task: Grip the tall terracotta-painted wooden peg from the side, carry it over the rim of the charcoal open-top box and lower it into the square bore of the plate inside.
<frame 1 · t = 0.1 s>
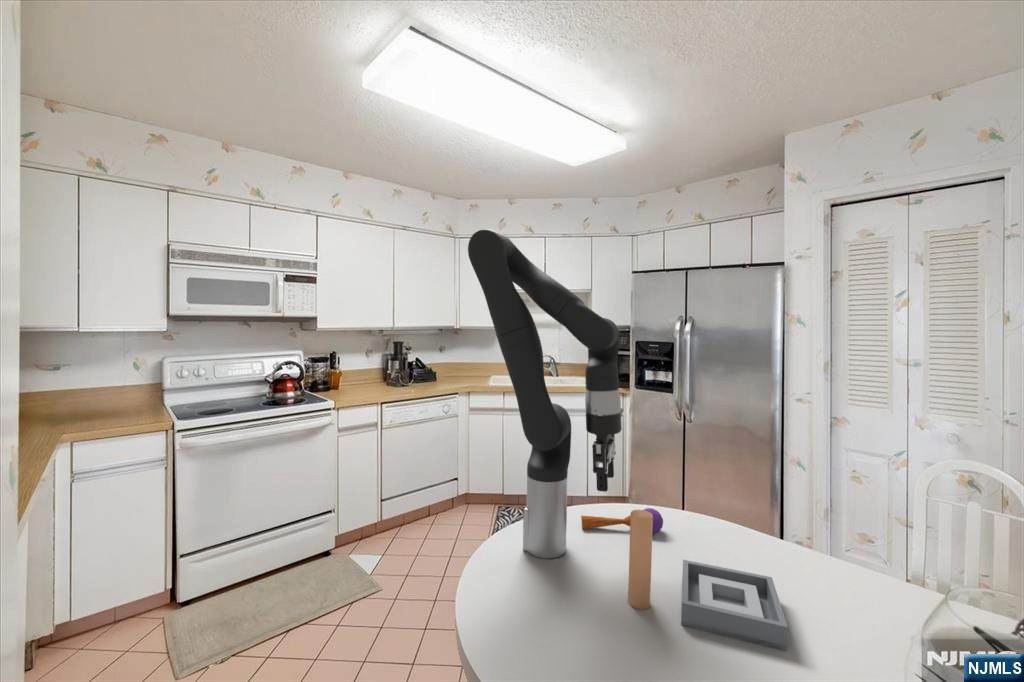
hand: (605, 483, 98), 17 cm above the table, tool pointing down, fingers open, 8 cm apart
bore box: (728, 610, 83), on the table
kendama: (621, 531, 113), on the table
peg: (638, 602, 85), on the table
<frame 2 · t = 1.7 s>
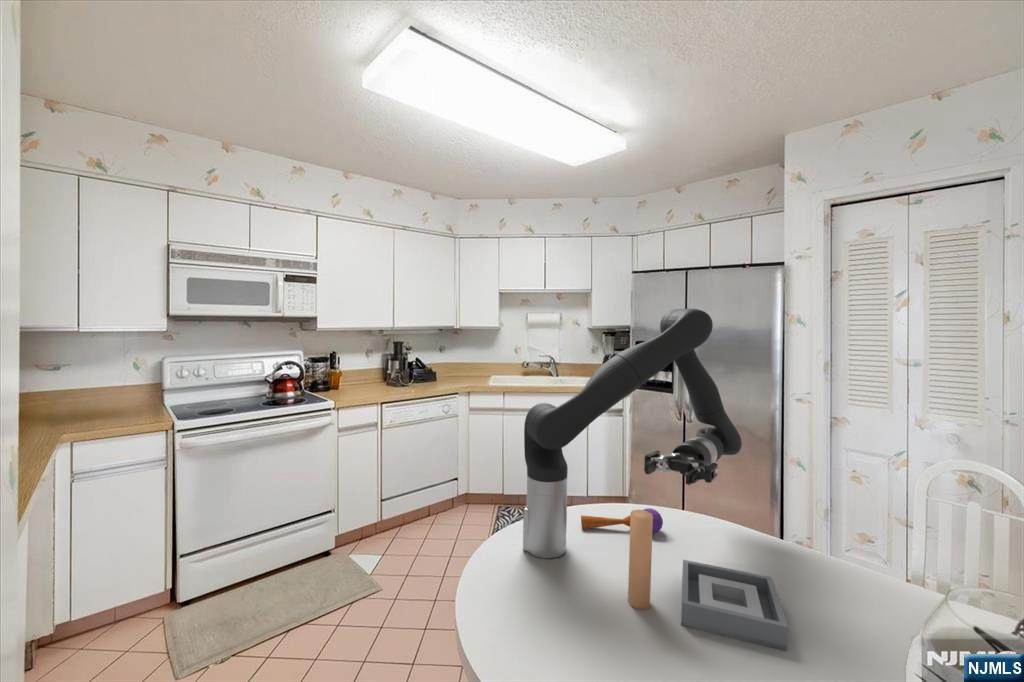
hand: (666, 474, 92), 22 cm above the table, tool horizontal, fingers open, 8 cm apart
nothing on the table moved.
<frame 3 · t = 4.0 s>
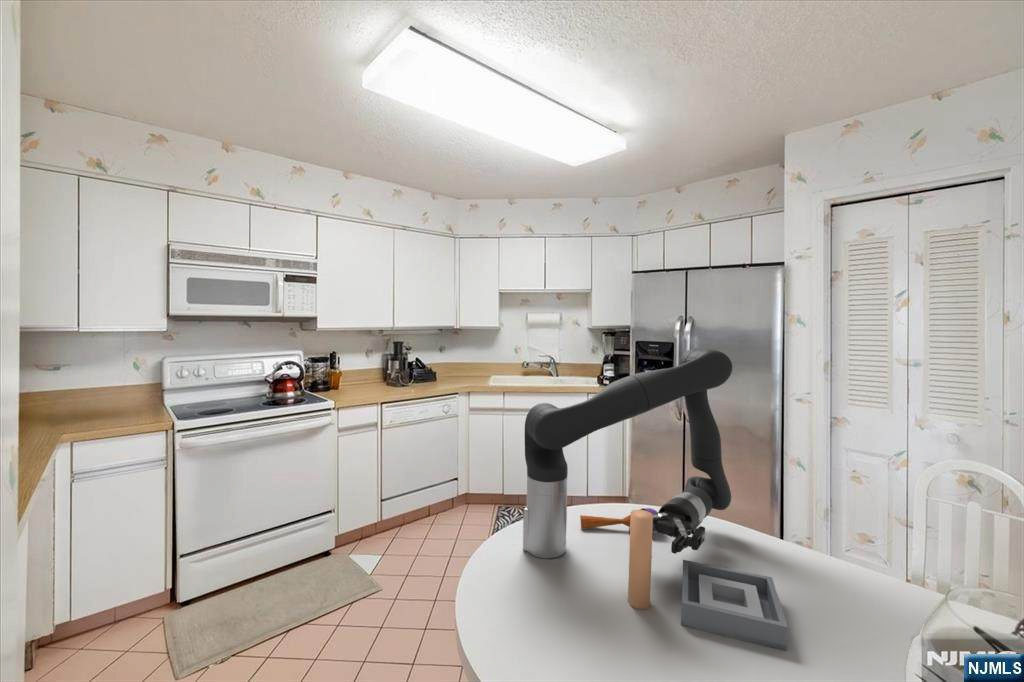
hand: (651, 540, 88), 10 cm above the table, tool horizontal, fingers open, 8 cm apart
nothing on the table moved.
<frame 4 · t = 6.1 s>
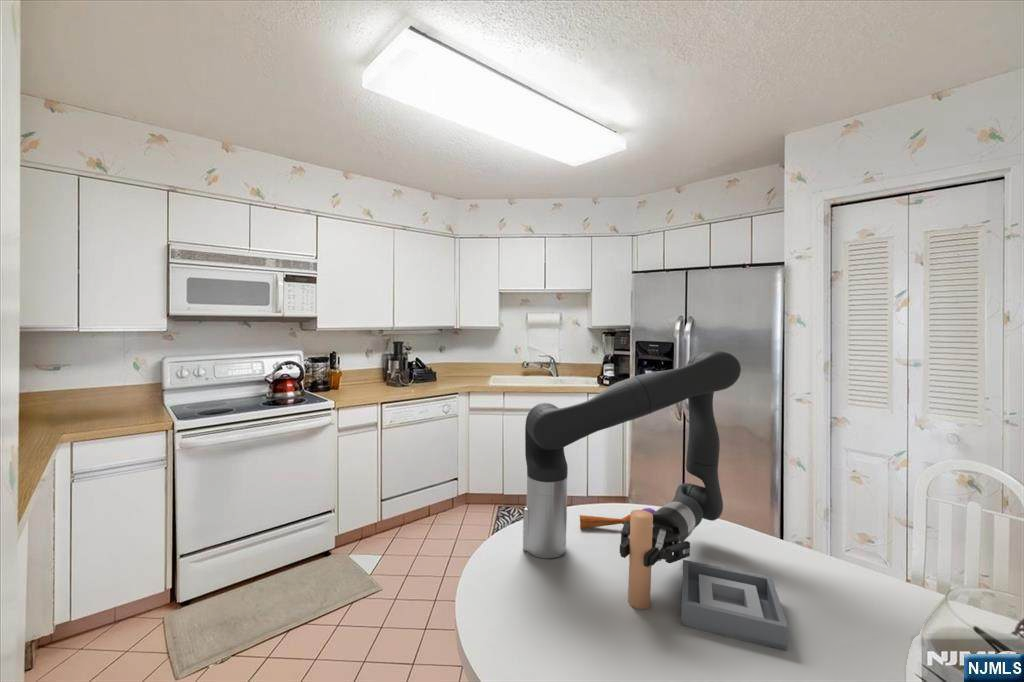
hand: (634, 556, 82), 10 cm above the table, tool horizontal, fingers closed on peg, 4 cm apart
peg: (639, 602, 85), on the table, touching gripper
everything else where it was.
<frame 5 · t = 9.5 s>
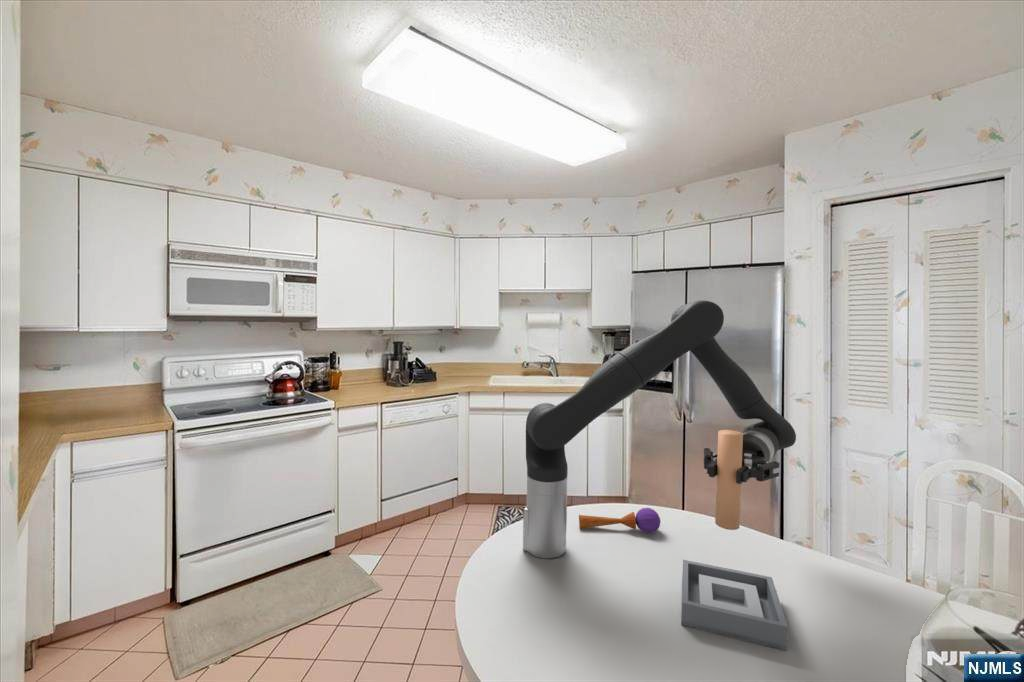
hand: (724, 474, 79), 26 cm above the table, tool horizontal, fingers closed on peg, 4 cm apart
peg: (727, 524, 82), point 16 cm above the table, touching gripper
everything else where it was.
when the fingers open (12 cm above the table, at t = 13.3 s): peg drops 2 cm, resting on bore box.
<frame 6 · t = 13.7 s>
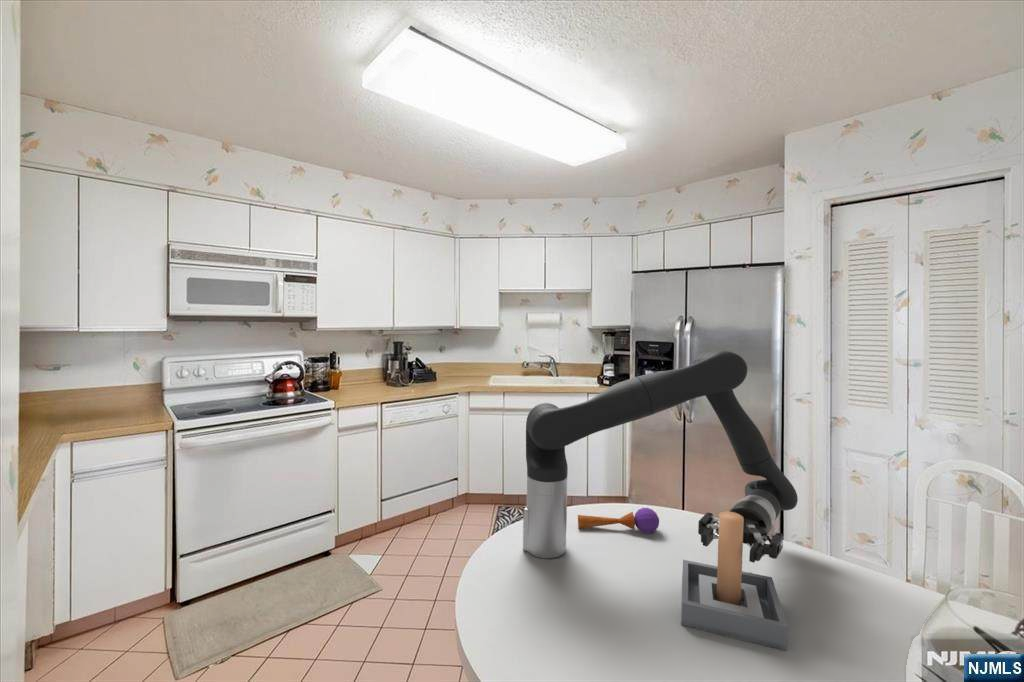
hand: (727, 548, 80), 13 cm above the table, tool horizontal, fingers open, 7 cm apart
peg: (728, 605, 83), point 1 cm above the table, touching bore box
everything else where it was.
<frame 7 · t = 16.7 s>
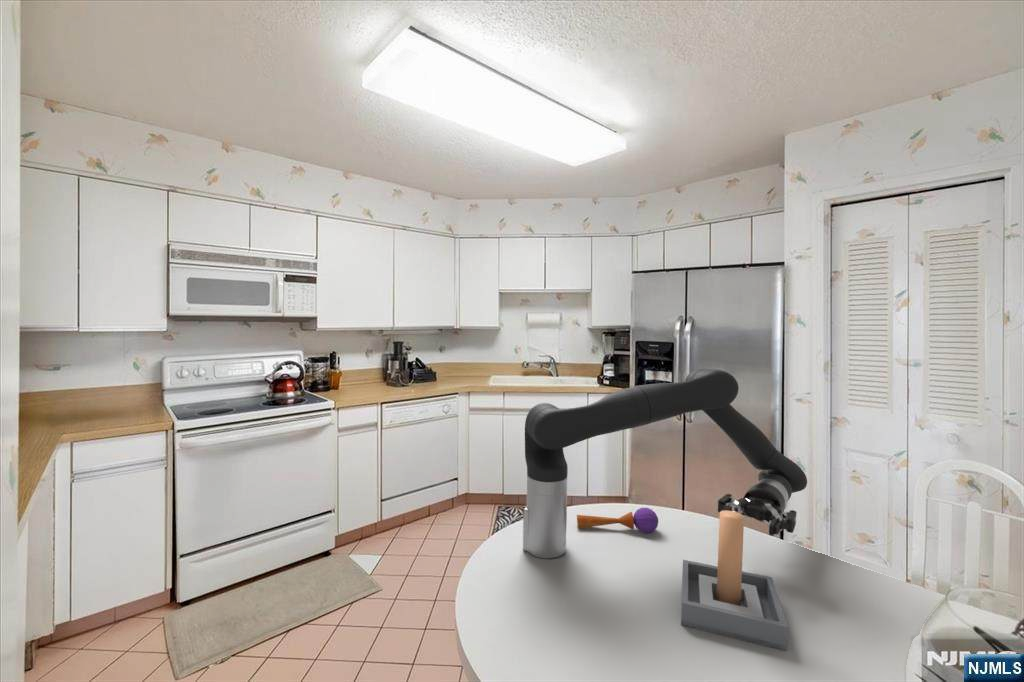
hand: (747, 523, 90), 13 cm above the table, tool horizontal, fingers open, 8 cm apart
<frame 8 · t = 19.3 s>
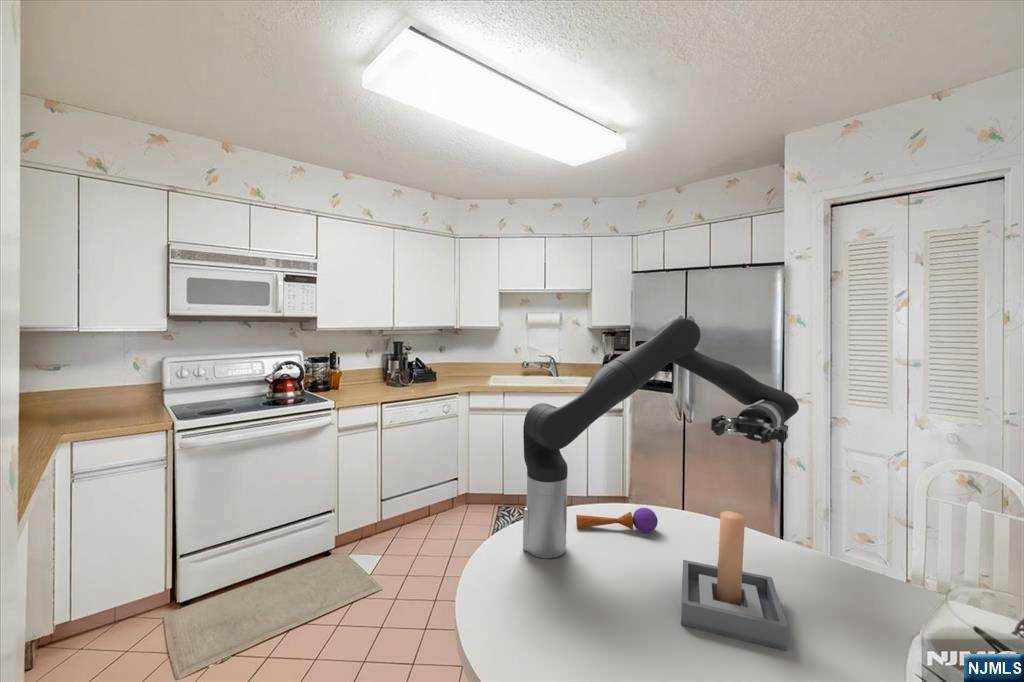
hand: (739, 434, 92), 30 cm above the table, tool horizontal, fingers open, 8 cm apart
at the end: peg 0.1 cm off-centre on the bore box, point 0.8 cm above the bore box's base; peg tilted 0°; the gripper is holding nothing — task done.
